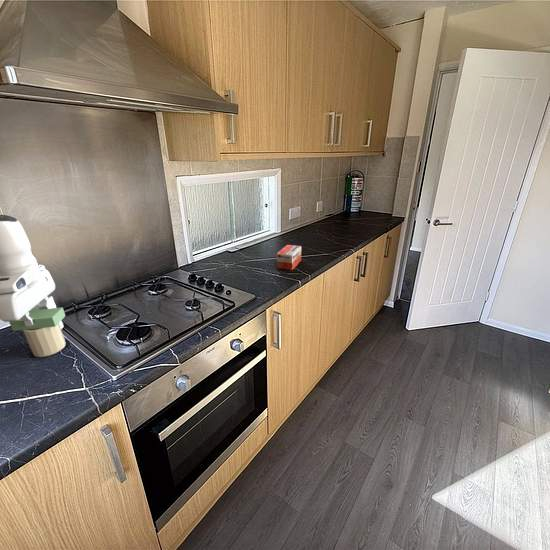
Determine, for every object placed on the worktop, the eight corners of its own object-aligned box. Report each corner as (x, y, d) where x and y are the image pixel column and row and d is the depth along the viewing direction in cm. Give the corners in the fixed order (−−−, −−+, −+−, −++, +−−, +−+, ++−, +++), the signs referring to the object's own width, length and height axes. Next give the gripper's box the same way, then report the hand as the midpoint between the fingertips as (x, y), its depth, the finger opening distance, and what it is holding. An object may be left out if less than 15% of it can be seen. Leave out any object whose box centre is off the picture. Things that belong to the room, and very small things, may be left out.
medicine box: (292, 270, 141) (292, 255, 138) (276, 268, 144) (276, 253, 140) (301, 260, 154) (301, 245, 150) (287, 258, 156) (286, 244, 153)
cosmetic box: (51, 328, 100) (39, 296, 95) (64, 327, 100) (52, 295, 96) (40, 338, 94) (26, 305, 90) (54, 337, 95) (41, 304, 90)
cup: (27, 358, 85) (15, 332, 82) (42, 342, 92) (32, 317, 89) (57, 355, 86) (47, 329, 83) (70, 338, 94) (62, 314, 90)
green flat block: (12, 330, 82) (8, 321, 81) (25, 319, 88) (22, 311, 87) (55, 326, 84) (52, 317, 83) (65, 315, 89) (62, 307, 88)
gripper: (30, 262, 89) (45, 302, 94) (-21, 291, 70) (2, 339, 76) (52, 260, 90) (67, 300, 95) (9, 289, 71) (29, 336, 76)
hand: (38, 318), depth 85 cm, fingers closed on green flat block, 6 cm apart
